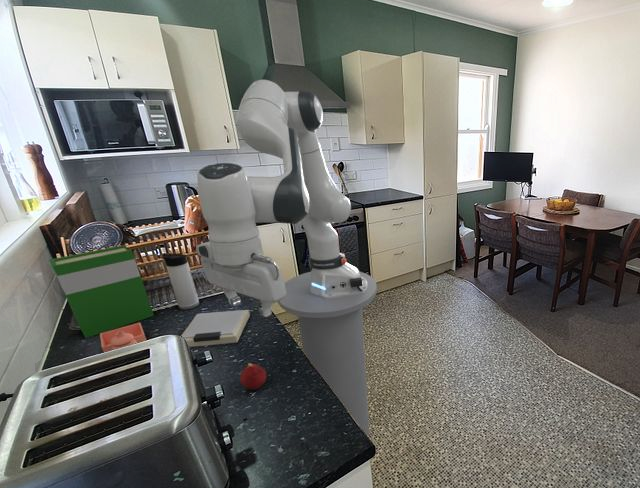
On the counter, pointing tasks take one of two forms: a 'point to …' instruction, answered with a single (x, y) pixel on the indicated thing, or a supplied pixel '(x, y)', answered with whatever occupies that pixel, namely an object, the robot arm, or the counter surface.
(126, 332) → the red box
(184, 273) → the travel mug
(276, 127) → the robot arm
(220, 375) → the counter surface
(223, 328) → the scale
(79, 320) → the green box
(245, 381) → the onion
